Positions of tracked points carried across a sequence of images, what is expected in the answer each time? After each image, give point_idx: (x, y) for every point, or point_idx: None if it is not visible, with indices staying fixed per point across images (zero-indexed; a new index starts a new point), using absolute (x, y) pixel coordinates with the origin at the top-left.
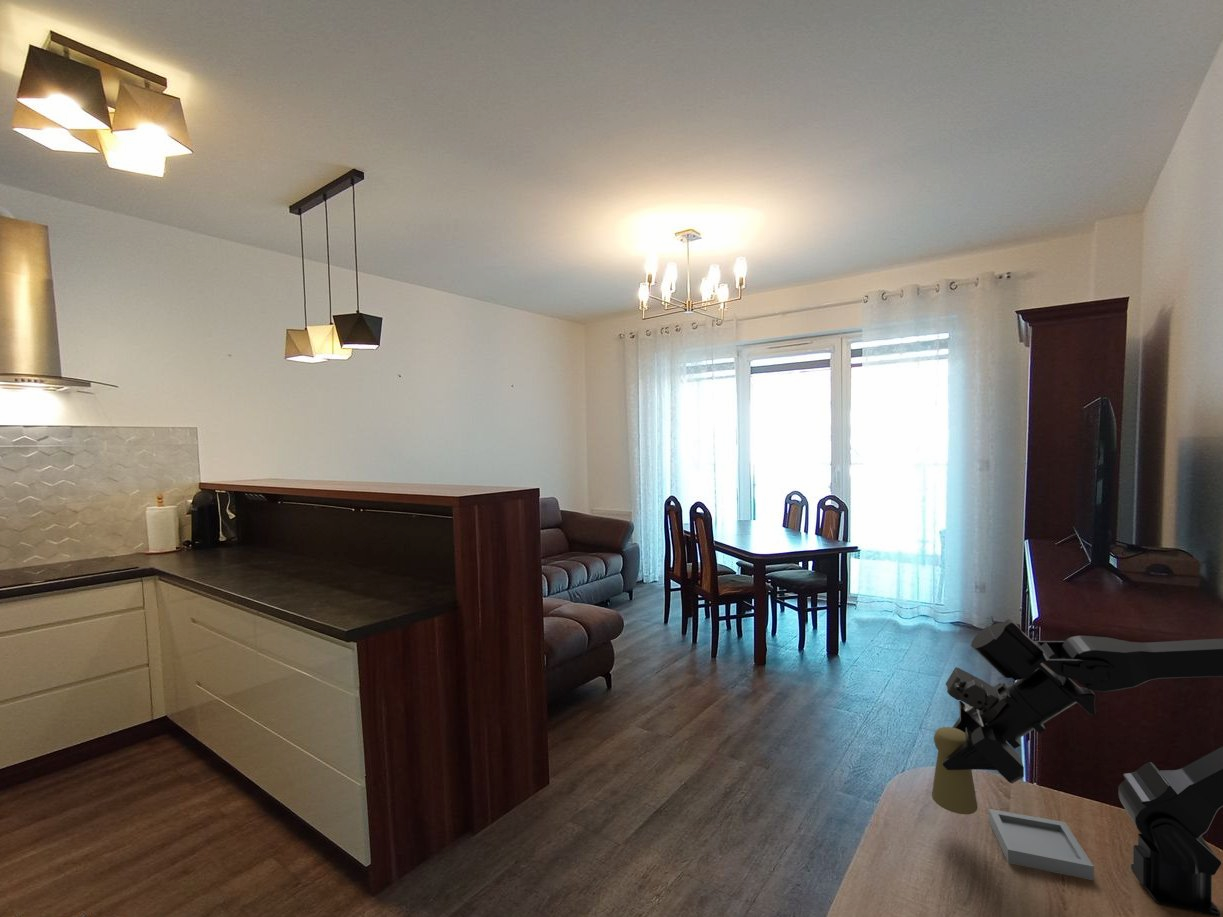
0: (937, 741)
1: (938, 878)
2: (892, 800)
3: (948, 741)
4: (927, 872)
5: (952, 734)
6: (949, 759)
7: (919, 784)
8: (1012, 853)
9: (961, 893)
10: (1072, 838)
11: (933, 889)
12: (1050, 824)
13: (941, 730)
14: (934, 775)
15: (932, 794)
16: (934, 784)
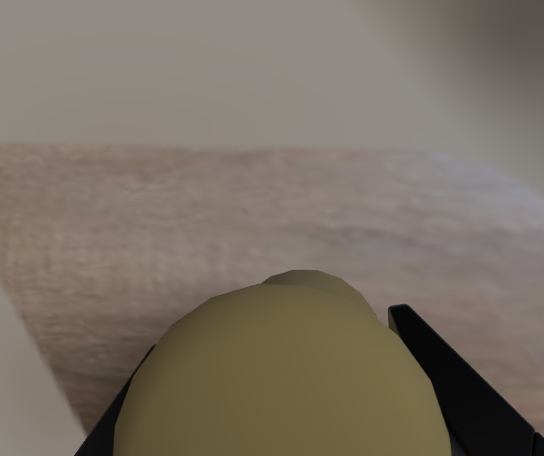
0: (179, 322)
1: (107, 308)
2: (368, 151)
3: (119, 434)
4: (114, 282)
5: None
6: (112, 403)
7: (518, 207)
8: None
9: (86, 361)
10: None
11: (65, 301)
12: None
13: (249, 365)
14: (286, 281)
15: (283, 273)
16: (270, 283)
